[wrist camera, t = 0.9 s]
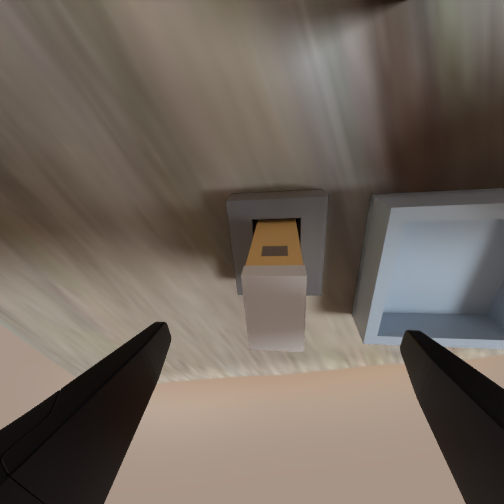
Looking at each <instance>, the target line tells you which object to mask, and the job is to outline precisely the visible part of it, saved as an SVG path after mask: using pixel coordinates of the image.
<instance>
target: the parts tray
mask: <svg viewBox="0 0 504 504" xmlns="http://www.w3.org/2000/svg"><path fill="white" fill-rule="evenodd" d="M352 316H353V319H354V321H355V324H356V326H357V329H358V331H359V334H360V336H361V339H362V341H363V344H384V345H401V342H402V338H403V335H404V332H405V331H406V330H420V331H422V332H423V333H425V334H426V335H427V336H429V337H430V338H432V339H433V340H435V341H436V342H437V343H439V344H440V345H442V346H443V347H463V348H489V349H504V188H494V189H473V190H452V191H431V192H411V193H390V194H371V199H370V205H369V211H368V217H367V223H366V230H365V236H364V242H363V248H362V255H361V261H360V267H359V273H358V279H357V286H356V292H355V298H354V304H353V311H352Z"/></svg>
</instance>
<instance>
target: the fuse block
mask: <svg viewBox="0 0 504 504" xmlns="http://www.w3.org/2000/svg"><path fill="white" fill-rule="evenodd" d="M328 199H329V196H328V195H327V194H326V192H325V191H324V190H323V189H314V190H295V191H276V192H257V193H238V194H231V196H230V197H229V198H228V199H227V200H226V208H227V216H228V224H229V231H230V239H231V246H232V254H233V262H234V269H235V277H236V285H237V292H238V295H243V290H242V281H241V274H242V271H243V267H244V266H245V265H246V262H247V258H248V255H249V251H250V247H251V244H252V240H253V236H254V233H255V229H256V219H279V218H299V235H298V236H299V242H300V248H301V254H302V260H303V265H305V268H306V274H307V286H306V295H319V296H321V291H322V278H323V265H324V252H325V239H326V225H327V212H328Z"/></svg>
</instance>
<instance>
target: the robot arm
mask: <svg viewBox="0 0 504 504" xmlns="http://www.w3.org/2000/svg"><path fill="white" fill-rule="evenodd" d="M170 343H171V334H170V331H169V328H168V325H167V323H166V322H155V323H153V324H152V325H150V326H149V327H148V328H146V329H145V330H143V331H142V332H140V333H139V334H138V335H136V336H135V337H133V338H132V339H131V340H129V341H128V342H126V343H125V344H124V345H122V346H121V347H119V348H118V349H117V350H115V351H114V352H112V353H111V354H109V355H108V356H107V357H105V358H104V359H102V360H101V361H100V362H98V363H97V364H95V365H94V366H93V367H91V368H90V369H88V370H87V371H85V372H84V373H83V374H81V375H80V376H78V377H77V378H76V379H74V380H73V381H71V382H70V383H69V384H67V385H66V386H64V387H63V388H62V389H61V390H59V391H57V392H56V393H54V394H53V395H52V396H50V397H49V398H47V399H46V400H44V401H43V402H42V403H40V404H39V405H37V406H36V407H34V408H33V409H31V410H30V411H28V412H27V413H26V414H24V415H23V416H21V417H19V418H18V419H16V420H15V421H13V422H12V423H11V424H9V425H7V426H6V427H4V428H3V429H1V430H0V504H104V502H105V500H106V498H107V495H108V493H109V491H110V489H111V486H112V484H113V482H114V480H115V477H116V475H117V473H118V470H119V468H120V466H121V464H122V461H123V459H124V457H125V455H126V452H127V450H128V448H129V446H130V443H131V441H132V439H133V436H134V434H135V432H136V430H137V427H138V425H139V423H140V420H141V418H142V416H143V414H144V411H145V409H146V407H147V404H148V402H149V400H150V397H151V395H152V393H153V391H154V389H155V386H156V384H157V381H158V379H159V376H160V373H161V370H162V367H163V364H164V361H165V358H166V355H167V352H168V349H169V346H170ZM400 351H401V354H402V357H403V360H404V363H405V366H406V368H407V371H408V374H409V377H410V380H411V383H412V386H413V388H414V391H415V394H416V397H417V399H418V401H419V404H420V406H421V408H422V410H423V412H424V414H425V417H426V419H427V421H428V423H429V425H430V427H431V430H432V432H433V434H434V436H435V438H436V440H437V443H438V445H439V447H440V449H441V451H442V453H443V456H444V458H445V460H446V462H447V464H448V466H449V468H450V470H451V473H452V475H453V477H454V479H455V481H456V483H457V485H458V488H459V490H460V492H461V494H462V496H463V499H464V501H465V503H466V504H504V389H503V388H501V387H500V386H499V385H497V384H496V383H494V382H493V381H492V380H490V379H489V378H487V377H486V376H484V375H483V374H481V373H480V372H478V371H477V370H476V369H474V368H473V367H471V366H470V365H469V364H467V363H466V362H464V361H463V360H462V359H460V358H459V357H457V356H456V355H454V354H453V353H452V352H450V351H449V350H447V349H446V348H445V347H443V346H442V345H440V344H439V343H437V342H436V341H435V340H433V339H432V338H430V337H429V336H427V335H426V334H425V333H423V332H422V331H420V330H406V331H405V332H404V335H403V338H402V342H401V345H400Z"/></svg>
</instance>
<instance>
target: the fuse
mask: <svg viewBox="0 0 504 504" xmlns="http://www.w3.org/2000/svg"><path fill="white" fill-rule="evenodd" d="M241 281H242V290H243V298H244V307H245V315H246V324H247V332H248V341H249V349H250V350H272V351H295V352H304V338H305V312H306V286H307V274H306V268H305V265H303V260H302V254H301V248H300V242H299V236H298V231H297V225H296V219H295V218H279V219H258V222H257V225H256V229H255V233H254V236H253V240H252V244H251V247H250V251H249V255H248V258H247V262H246V265H245V266H244V267H243V271H242V274H241Z"/></svg>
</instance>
